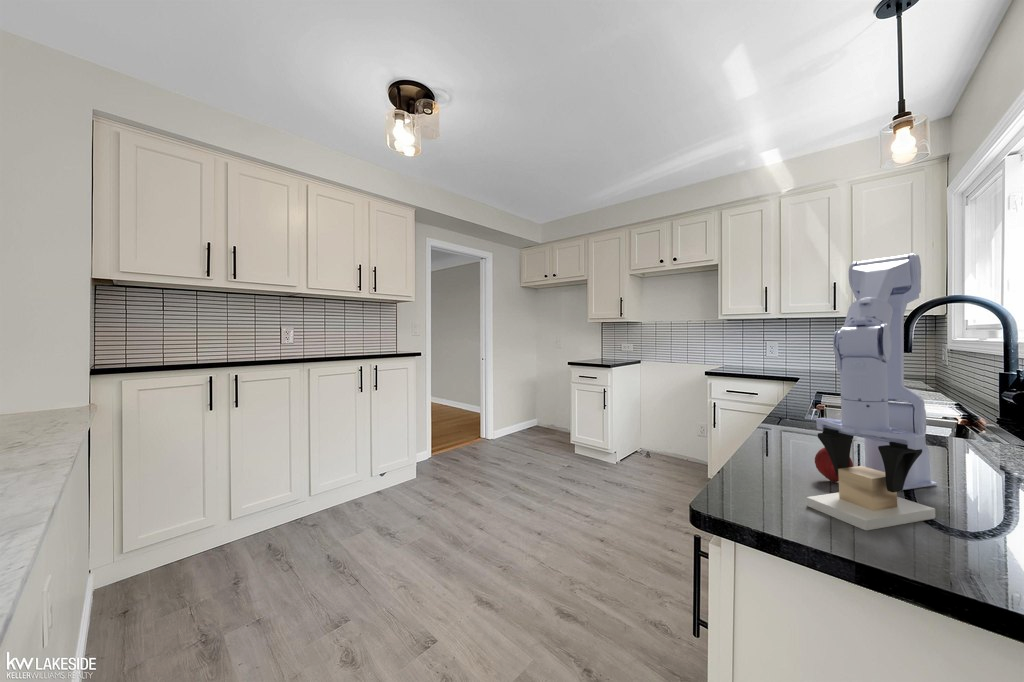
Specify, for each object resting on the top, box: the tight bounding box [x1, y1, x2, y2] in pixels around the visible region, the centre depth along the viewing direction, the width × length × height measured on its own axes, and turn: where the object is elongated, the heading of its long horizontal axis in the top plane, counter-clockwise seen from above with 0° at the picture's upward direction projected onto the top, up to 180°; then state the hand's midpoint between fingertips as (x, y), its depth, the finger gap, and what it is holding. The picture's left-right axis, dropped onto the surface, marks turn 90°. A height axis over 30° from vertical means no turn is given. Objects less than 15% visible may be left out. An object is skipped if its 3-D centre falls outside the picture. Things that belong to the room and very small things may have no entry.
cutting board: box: [806, 491, 936, 531], centre depth 63 cm, size 14×9×2 cm, turn 102°
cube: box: [838, 465, 898, 511], centre depth 63 cm, size 5×5×5 cm
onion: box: [814, 447, 854, 483], centre depth 76 cm, size 6×6×8 cm
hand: (867, 482), depth 63 cm, fingers open, 7 cm apart
